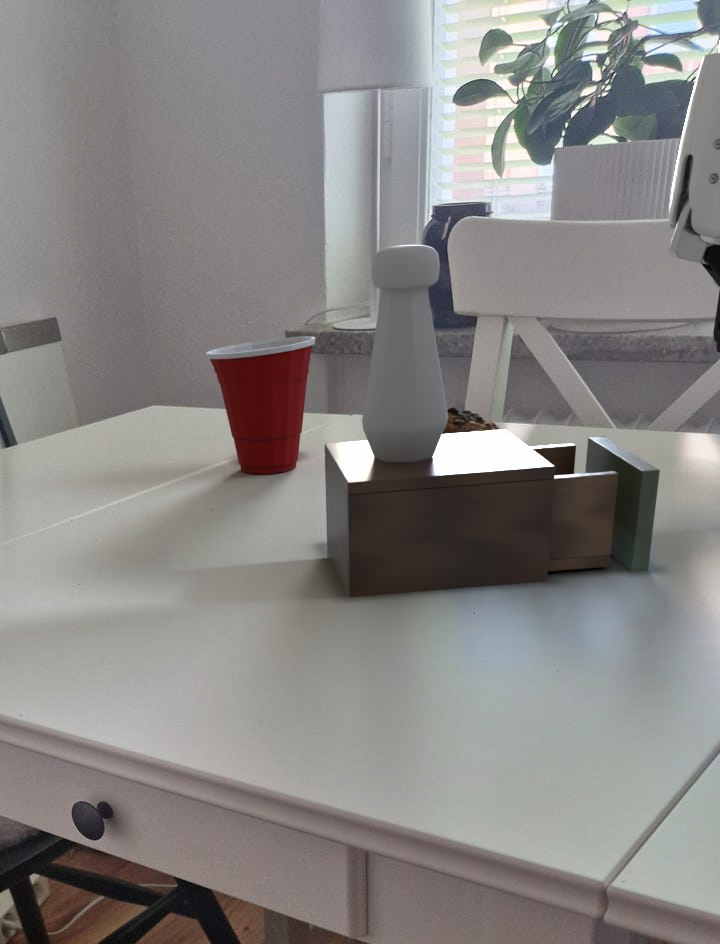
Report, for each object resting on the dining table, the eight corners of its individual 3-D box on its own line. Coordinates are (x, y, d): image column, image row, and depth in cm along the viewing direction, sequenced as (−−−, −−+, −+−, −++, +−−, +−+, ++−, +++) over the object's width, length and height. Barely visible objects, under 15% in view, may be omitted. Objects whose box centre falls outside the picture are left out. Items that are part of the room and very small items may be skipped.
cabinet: (500, 544, 91) (506, 429, 86) (546, 594, 80) (555, 466, 75) (327, 558, 90) (324, 443, 86) (349, 610, 80) (347, 482, 75)
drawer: (610, 526, 90) (619, 434, 86) (665, 569, 80) (678, 468, 76) (434, 540, 90) (436, 448, 86) (468, 585, 80) (472, 484, 76)
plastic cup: (253, 452, 125) (246, 331, 119) (339, 460, 119) (337, 333, 113) (192, 475, 118) (182, 347, 112) (281, 484, 112) (275, 350, 106)
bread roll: (469, 464, 113) (466, 410, 111) (376, 470, 120) (371, 418, 118) (526, 446, 120) (524, 395, 118) (435, 452, 127) (431, 404, 125)
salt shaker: (464, 454, 80) (471, 241, 73) (401, 469, 77) (402, 250, 71) (407, 443, 84) (409, 241, 78) (346, 457, 82) (342, 249, 75)
